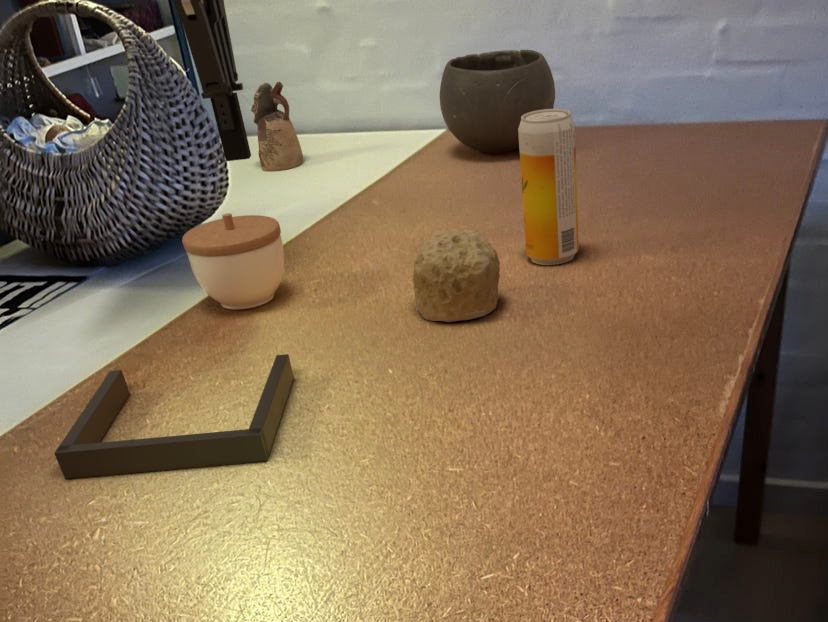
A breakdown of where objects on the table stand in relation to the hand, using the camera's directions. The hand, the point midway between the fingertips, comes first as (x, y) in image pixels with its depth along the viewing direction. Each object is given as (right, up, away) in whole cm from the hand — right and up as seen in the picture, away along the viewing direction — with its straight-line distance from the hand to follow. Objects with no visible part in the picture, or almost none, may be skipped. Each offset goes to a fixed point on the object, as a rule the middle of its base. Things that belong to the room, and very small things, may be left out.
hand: (238, 158), depth 112 cm
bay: (+1, -36, -24) cm, 43 cm away
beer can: (+36, -11, +1) cm, 38 cm away
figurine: (-5, +22, +48) cm, 53 cm away
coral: (+26, -20, -9) cm, 34 cm away
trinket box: (+1, -16, 0) cm, 16 cm away
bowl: (+31, +22, +43) cm, 57 cm away
